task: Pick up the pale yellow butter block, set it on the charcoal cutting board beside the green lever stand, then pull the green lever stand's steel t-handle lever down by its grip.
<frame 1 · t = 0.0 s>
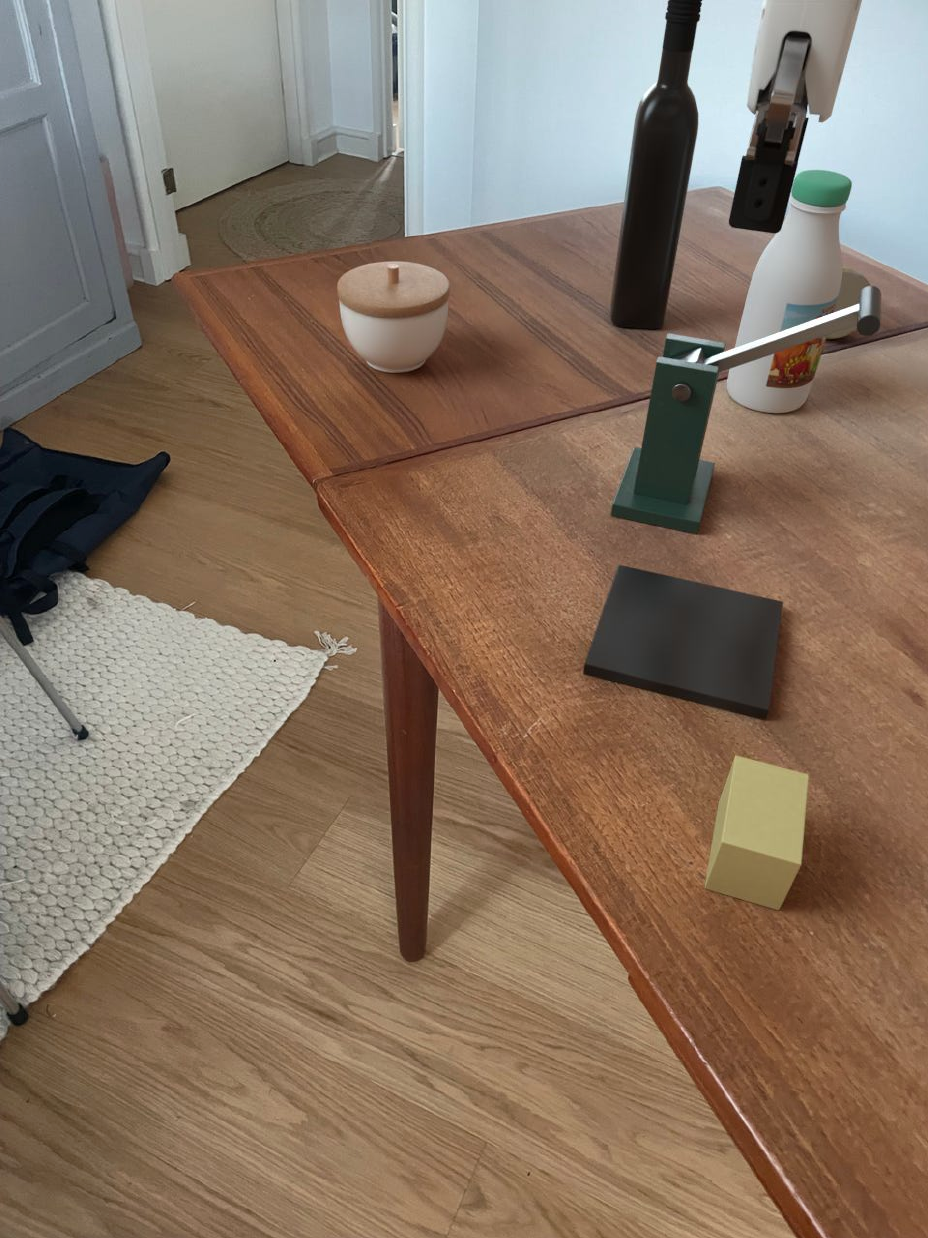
hand: (761, 202, 61), 24 cm above the table, tool pointing down, fingers open, 9 cm apart
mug: (817, 325, 102), on the table
board: (685, 641, 65), on the table
t-handle lever: (768, 345, 67), point 14 cm above the table, hinge at 32.0°
wine bottle: (635, 319, 102), on the table
milk bottle: (764, 396, 90), on the table
green lever stand: (662, 494, 78), on the table
butter: (747, 854, 52), on the table
trinket box: (396, 359, 94), on the table
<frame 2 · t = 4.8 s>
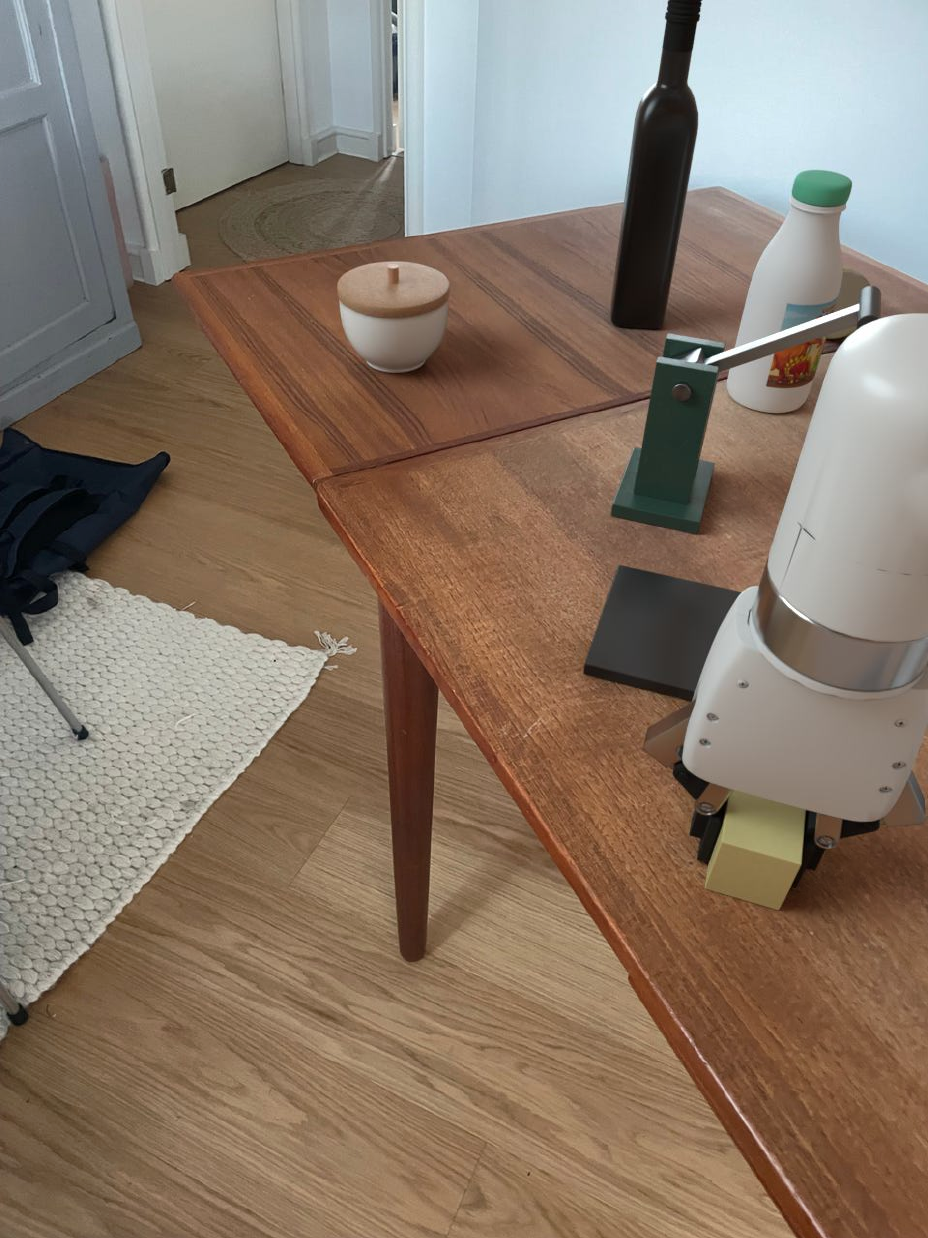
hand: (748, 851, 52), 0 cm above the table, tool pointing down, fingers closed on butter, 4 cm apart
butter: (747, 854, 52), on the table, touching gripper
everything else where it was.
when the fingers open (1 cm above the table, at t = 10.8 s): butter stays where it is, resting on board.
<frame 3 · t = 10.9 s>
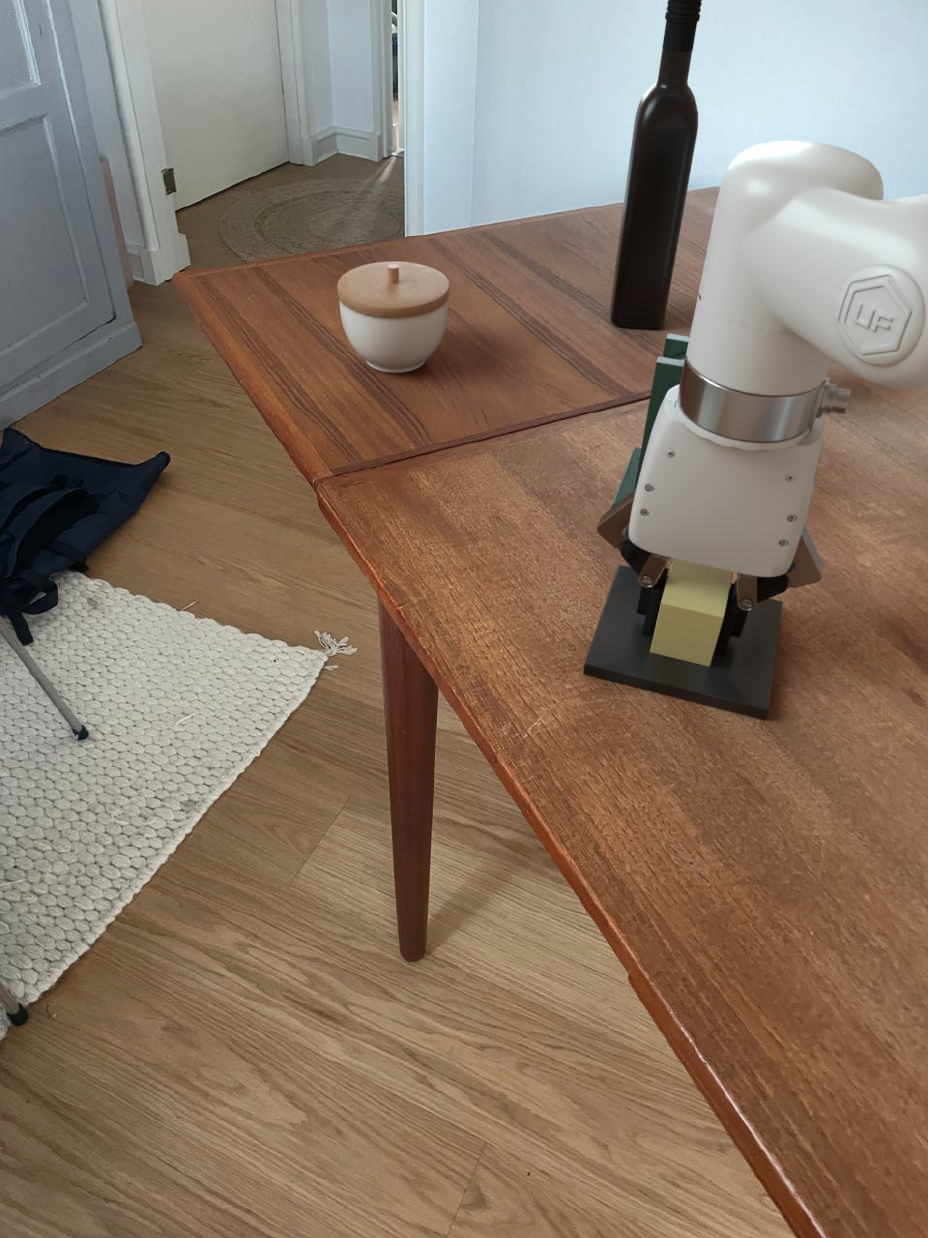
hand: (686, 627, 64), 1 cm above the table, tool pointing down, fingers open, 4 cm apart
butter: (686, 630, 64), point 1 cm above the table, touching board
everything else where it was.
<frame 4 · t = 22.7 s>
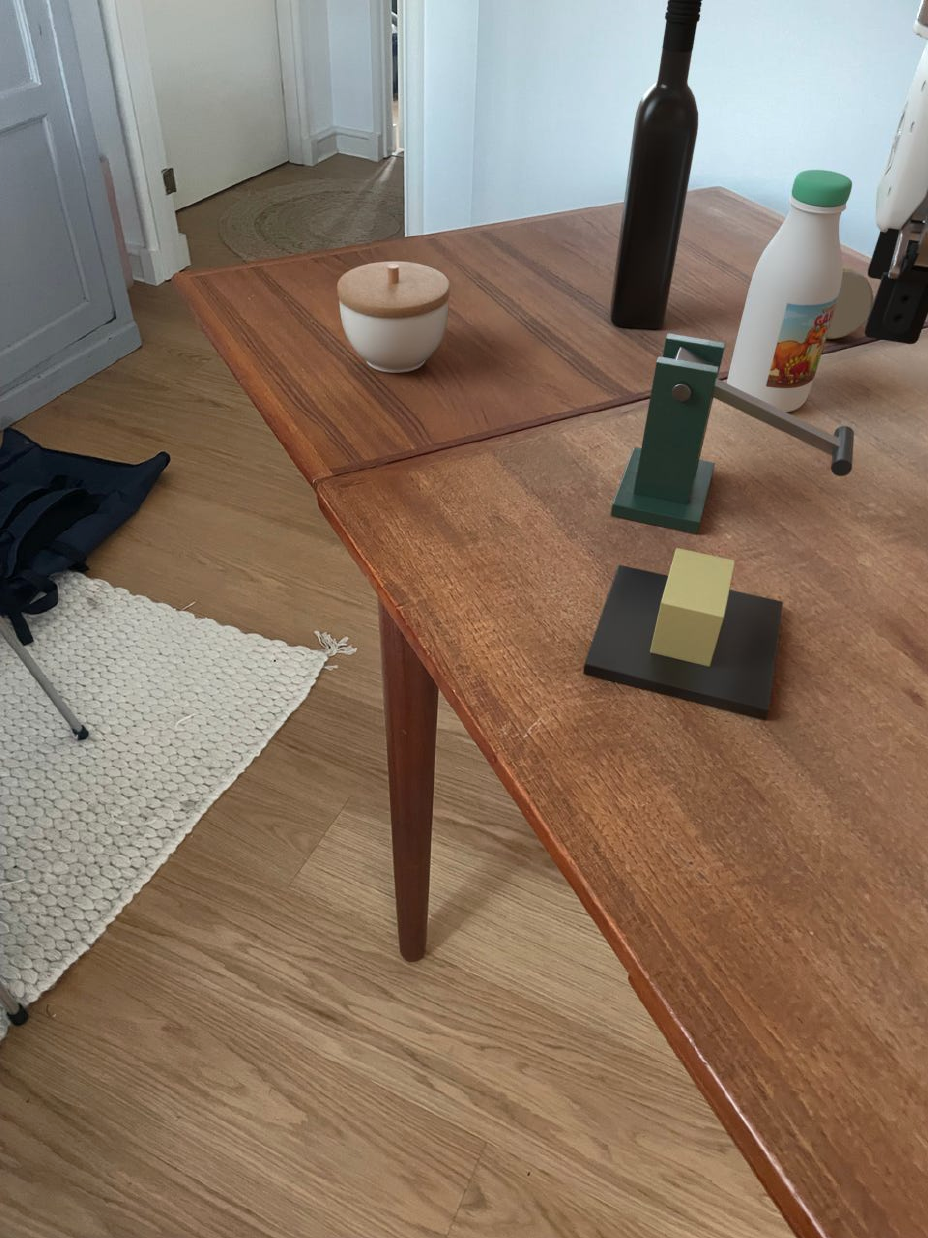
hand: (889, 307, 63), 18 cm above the table, tool pointing down, fingers open, 9 cm apart
t-handle lever: (760, 410, 70), point 9 cm above the table, hinge at -17.4°
everything else where it was.
at the end: butter inside the target area on the board (0.1 cm from its centre), point 1.0 cm above the board's base; butter tilted 0°; t-handle lever at -17° (first picture: +32°) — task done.
